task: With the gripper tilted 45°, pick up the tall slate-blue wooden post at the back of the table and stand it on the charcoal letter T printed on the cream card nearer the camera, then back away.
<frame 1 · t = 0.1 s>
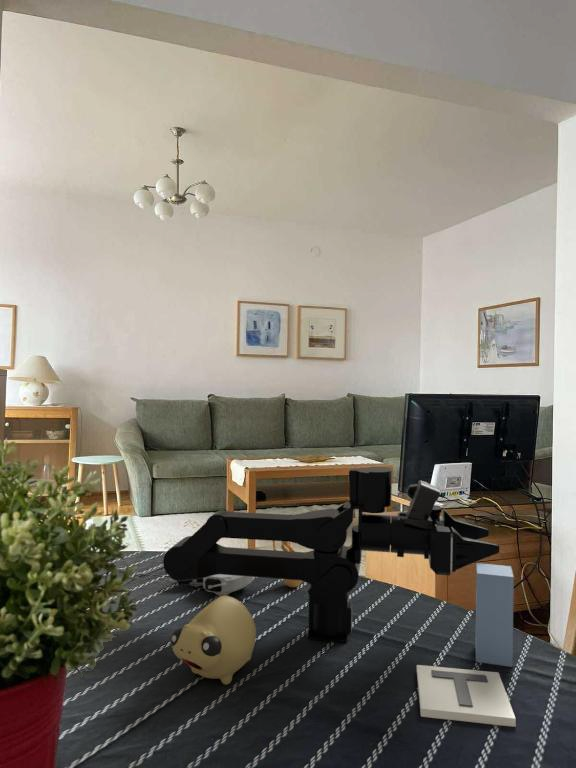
hand: (493, 540, 89), 17 cm above the table, tool horizontal, fingers open, 9 cm apart
robot toy: (215, 589, 114), on the table
figurine: (288, 586, 115), on the table
beige rounded figure: (214, 679, 79), on the table
letter card: (461, 697, 75), on the table
slate post: (493, 656, 86), on the table
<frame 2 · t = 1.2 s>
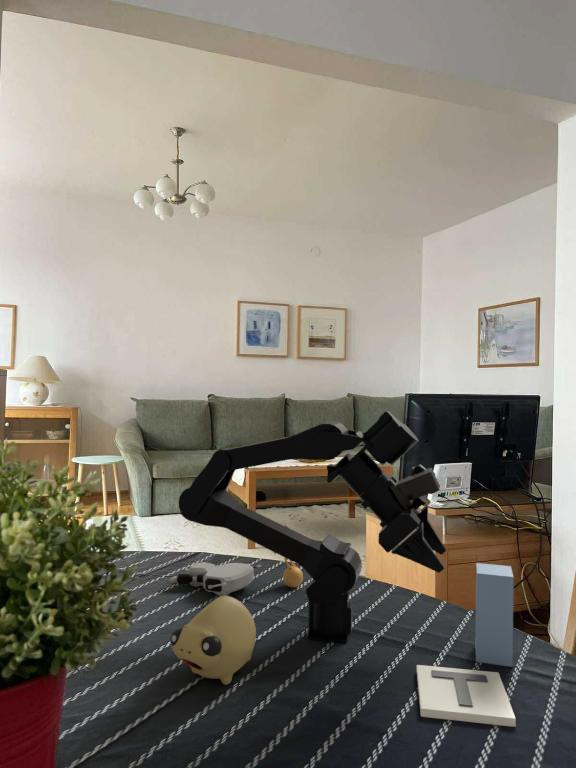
hand: (443, 561, 88), 14 cm above the table, tool tilted 45°, fingers open, 9 cm apart
nothing on the table moved.
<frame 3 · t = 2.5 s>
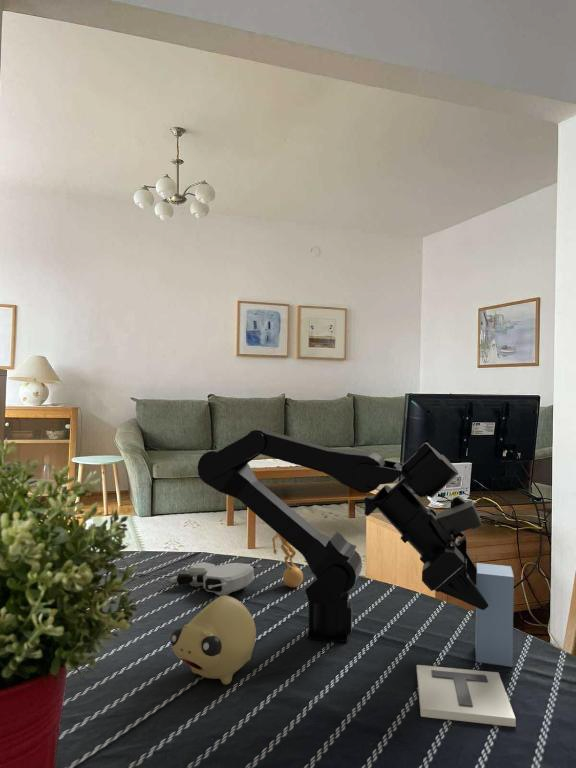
hand: (485, 596, 87), 9 cm above the table, tool tilted 45°, fingers open, 9 cm apart
nothing on the table moved.
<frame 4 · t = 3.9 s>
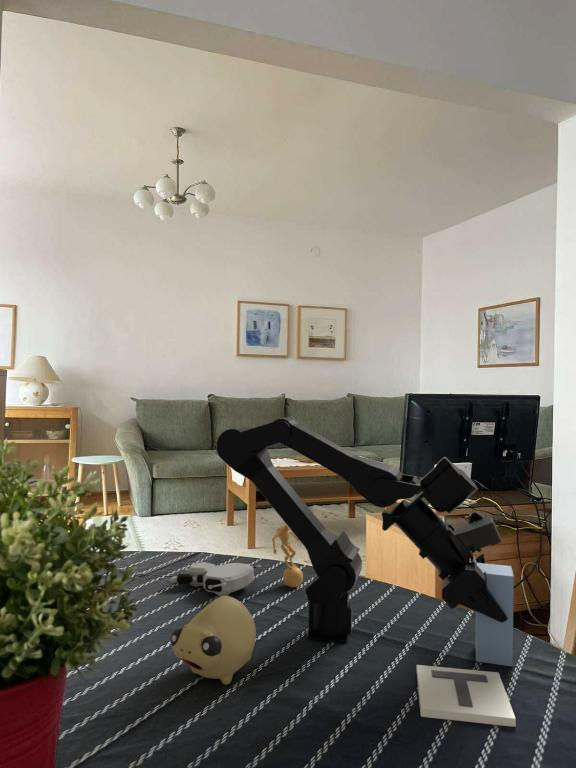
hand: (504, 613, 86), 7 cm above the table, tool tilted 45°, fingers closed on slate post, 5 cm apart
slate post: (493, 656, 86), on the table, touching gripper
everything else where it was.
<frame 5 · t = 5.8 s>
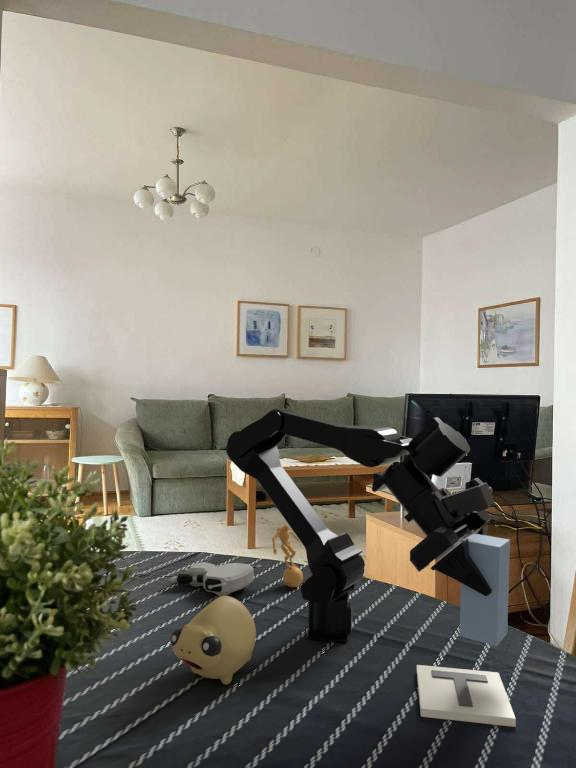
hand: (495, 588, 78), 13 cm above the table, tool tilted 45°, fingers closed on slate post, 5 cm apart
slate post: (483, 634, 79), point 6 cm above the table, touching gripper
everything else where it was.
when the fingers open (8 cm above the table, at t = 7.7 s): slate post stays where it is, resting on letter card.
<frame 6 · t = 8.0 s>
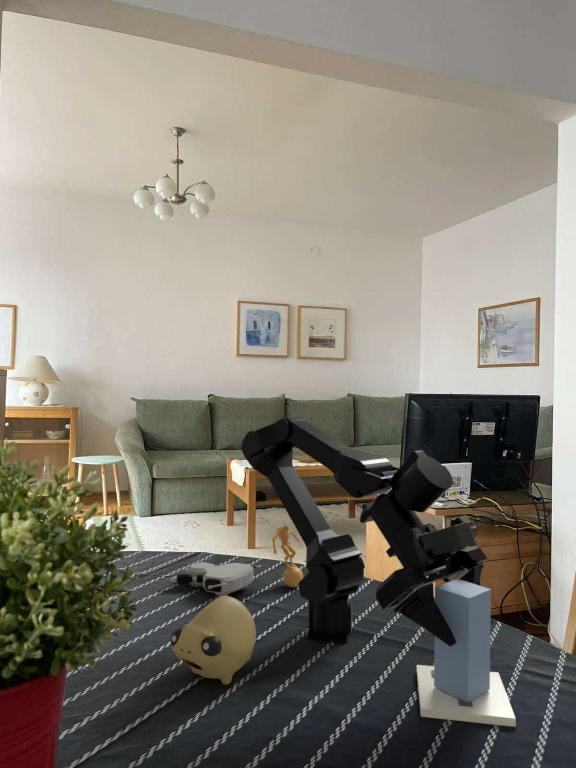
hand: (472, 635, 74), 9 cm above the table, tool tilted 45°, fingers open, 8 cm apart
slate post: (461, 687, 75), point 1 cm above the table, touching letter card
everything else where it was.
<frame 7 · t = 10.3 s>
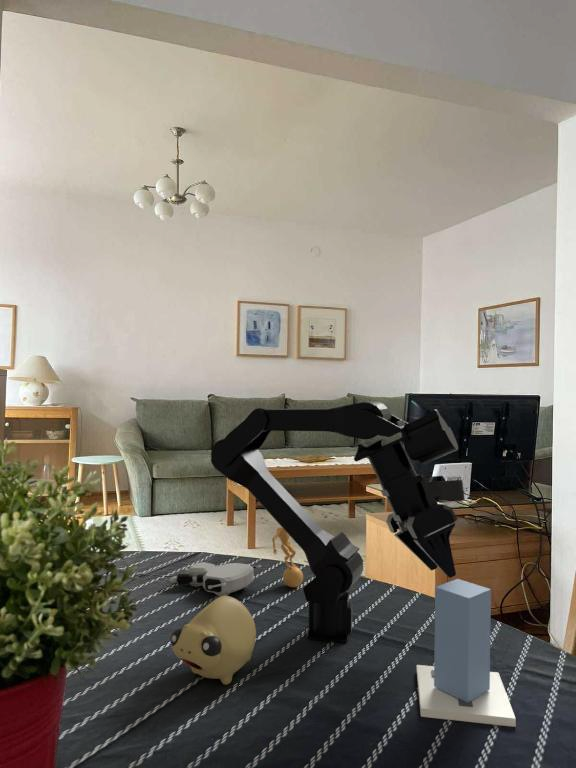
hand: (443, 572, 86), 12 cm above the table, tool tilted 25°, fingers open, 9 cm apart
nothing on the table moved.
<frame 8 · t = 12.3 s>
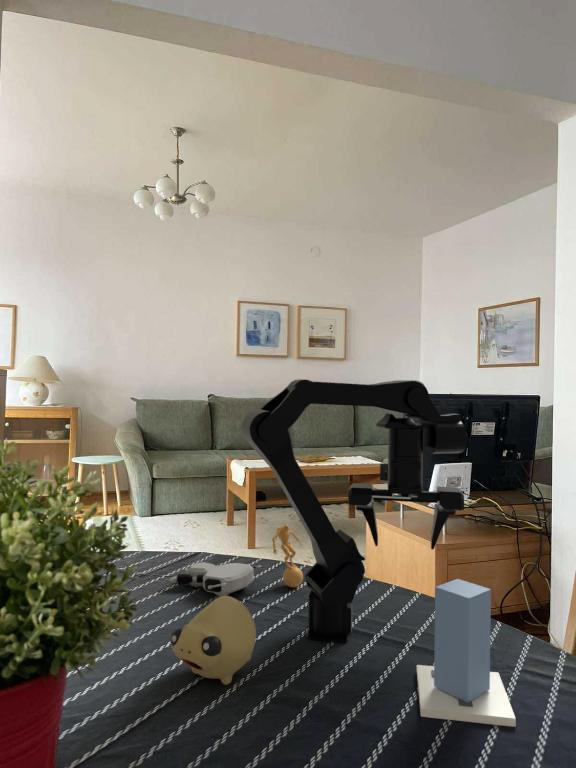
hand: (404, 547, 97), 13 cm above the table, tool pointing down, fingers open, 9 cm apart
nothing on the table moved.
at the end: slate post 0.0 cm off-centre on the letter card, point 1.2 cm above the letter card's base; slate post tilted 0°; the gripper is holding nothing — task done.
